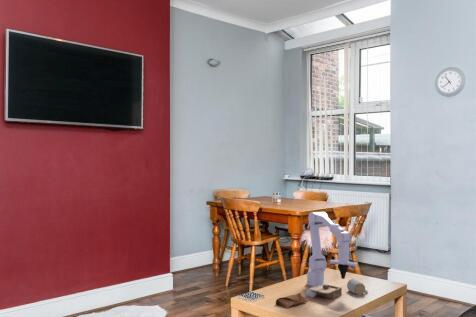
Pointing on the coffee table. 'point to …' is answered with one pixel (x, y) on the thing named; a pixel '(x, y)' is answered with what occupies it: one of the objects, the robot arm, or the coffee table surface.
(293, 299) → the sunglasses case
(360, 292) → the ceramic mug
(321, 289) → the lid
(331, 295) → the keepsake box
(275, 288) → the coffee table surface
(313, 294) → the white rounded piece
